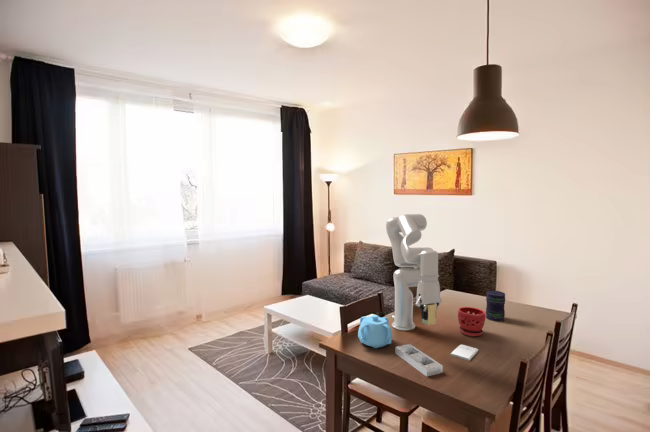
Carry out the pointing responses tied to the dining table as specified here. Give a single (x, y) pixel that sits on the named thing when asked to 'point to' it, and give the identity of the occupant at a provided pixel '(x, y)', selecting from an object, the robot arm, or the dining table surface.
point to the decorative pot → (375, 331)
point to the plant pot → (471, 321)
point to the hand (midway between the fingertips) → (428, 317)
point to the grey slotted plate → (419, 360)
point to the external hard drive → (464, 352)
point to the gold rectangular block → (430, 314)
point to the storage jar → (495, 306)
